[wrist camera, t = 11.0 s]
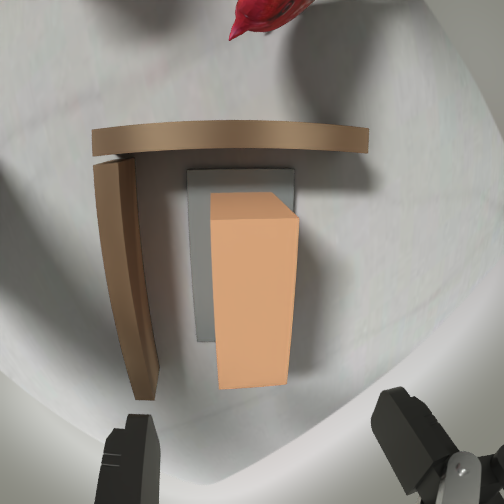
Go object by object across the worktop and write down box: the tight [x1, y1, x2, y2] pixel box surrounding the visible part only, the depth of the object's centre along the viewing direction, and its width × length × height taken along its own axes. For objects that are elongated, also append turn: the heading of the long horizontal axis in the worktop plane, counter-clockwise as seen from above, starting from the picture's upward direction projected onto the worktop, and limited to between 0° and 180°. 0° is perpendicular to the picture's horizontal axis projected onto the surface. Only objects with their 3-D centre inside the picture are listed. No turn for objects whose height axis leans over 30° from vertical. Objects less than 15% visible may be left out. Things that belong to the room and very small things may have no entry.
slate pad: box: [187, 168, 295, 342], centre depth 23 cm, size 7×13×1 cm, turn 0°
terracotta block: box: [210, 192, 299, 389], centre depth 19 cm, size 10×4×7 cm, turn 0°
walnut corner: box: [92, 120, 369, 400], centre depth 21 cm, size 16×19×4 cm
